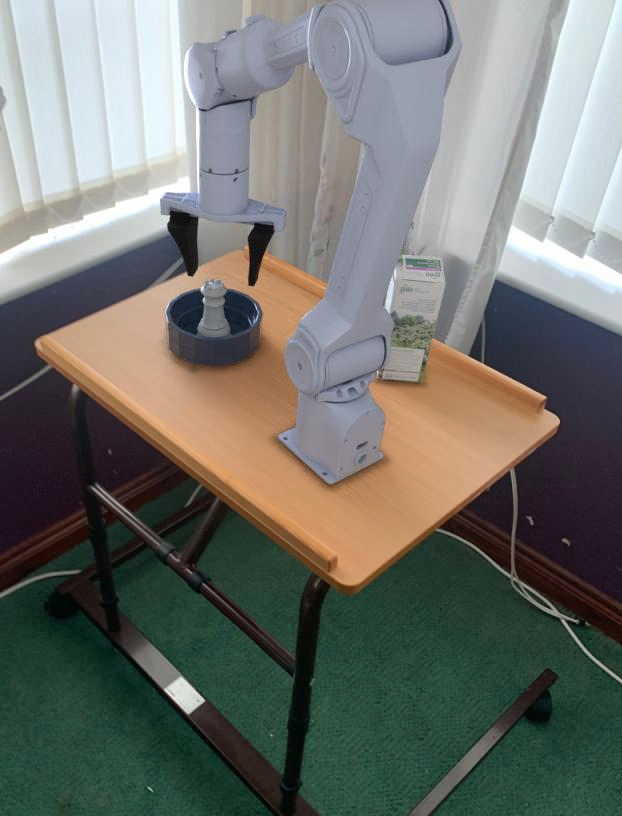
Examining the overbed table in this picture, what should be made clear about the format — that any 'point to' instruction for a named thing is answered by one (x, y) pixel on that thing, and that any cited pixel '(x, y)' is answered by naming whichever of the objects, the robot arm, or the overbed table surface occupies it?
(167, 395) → the overbed table surface
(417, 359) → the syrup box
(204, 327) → the rook chess piece
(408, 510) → the overbed table surface
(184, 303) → the bowl
